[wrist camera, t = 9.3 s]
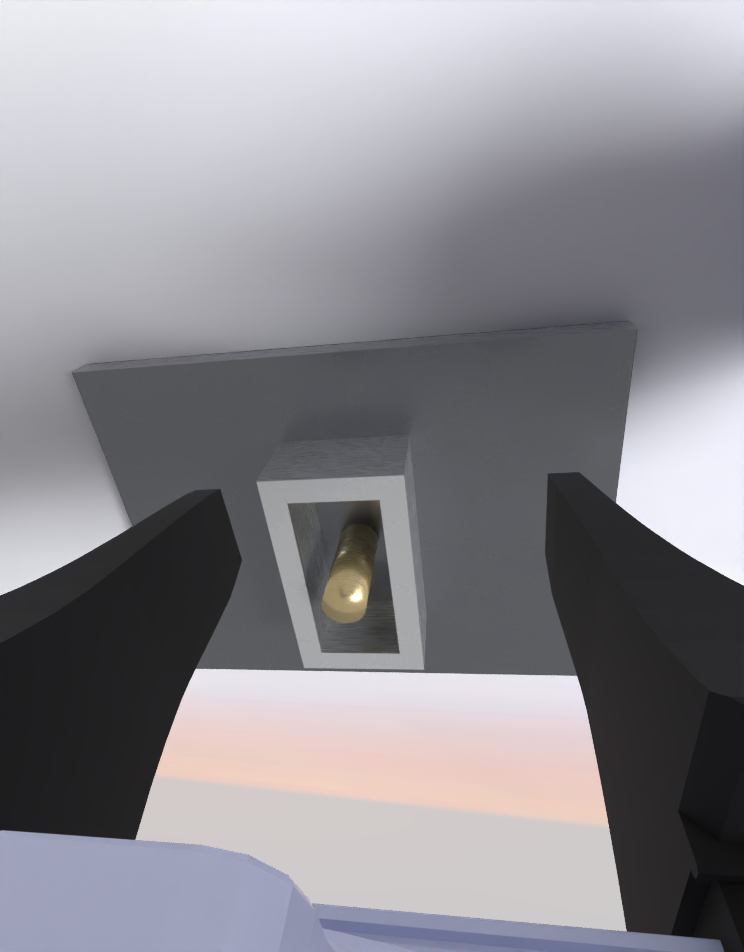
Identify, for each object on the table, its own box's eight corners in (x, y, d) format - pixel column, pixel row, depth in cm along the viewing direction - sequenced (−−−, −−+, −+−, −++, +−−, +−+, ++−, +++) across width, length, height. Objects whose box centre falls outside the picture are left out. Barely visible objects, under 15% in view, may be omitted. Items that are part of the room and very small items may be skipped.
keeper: (628, 321, 18) (684, 369, 14) (589, 658, 26) (617, 757, 22) (87, 364, 21) (-5, 414, 17) (196, 653, 29) (153, 738, 25)
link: (280, 442, 21) (256, 481, 18) (409, 435, 20) (404, 475, 17) (318, 616, 25) (304, 668, 23) (426, 616, 24) (424, 669, 22)
